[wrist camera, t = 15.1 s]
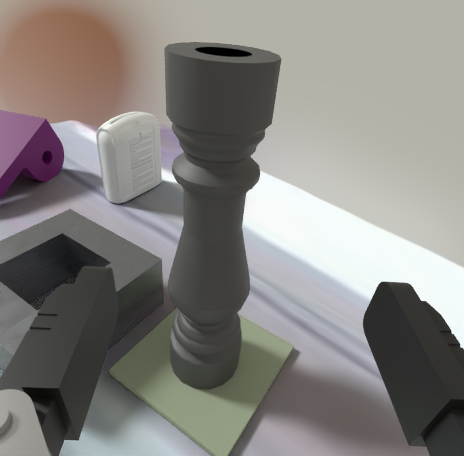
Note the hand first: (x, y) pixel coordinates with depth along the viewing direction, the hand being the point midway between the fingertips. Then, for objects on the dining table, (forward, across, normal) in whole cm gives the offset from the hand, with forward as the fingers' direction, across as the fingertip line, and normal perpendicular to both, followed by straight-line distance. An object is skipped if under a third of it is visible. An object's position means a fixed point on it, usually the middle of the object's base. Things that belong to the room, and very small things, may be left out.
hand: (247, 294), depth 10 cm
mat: (+11, -1, -21) cm, 24 cm away
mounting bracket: (+40, -34, -22) cm, 57 cm away
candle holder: (+11, -1, -20) cm, 23 cm away
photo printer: (+42, -14, -21) cm, 49 cm away
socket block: (+16, -15, -21) cm, 31 cm away
